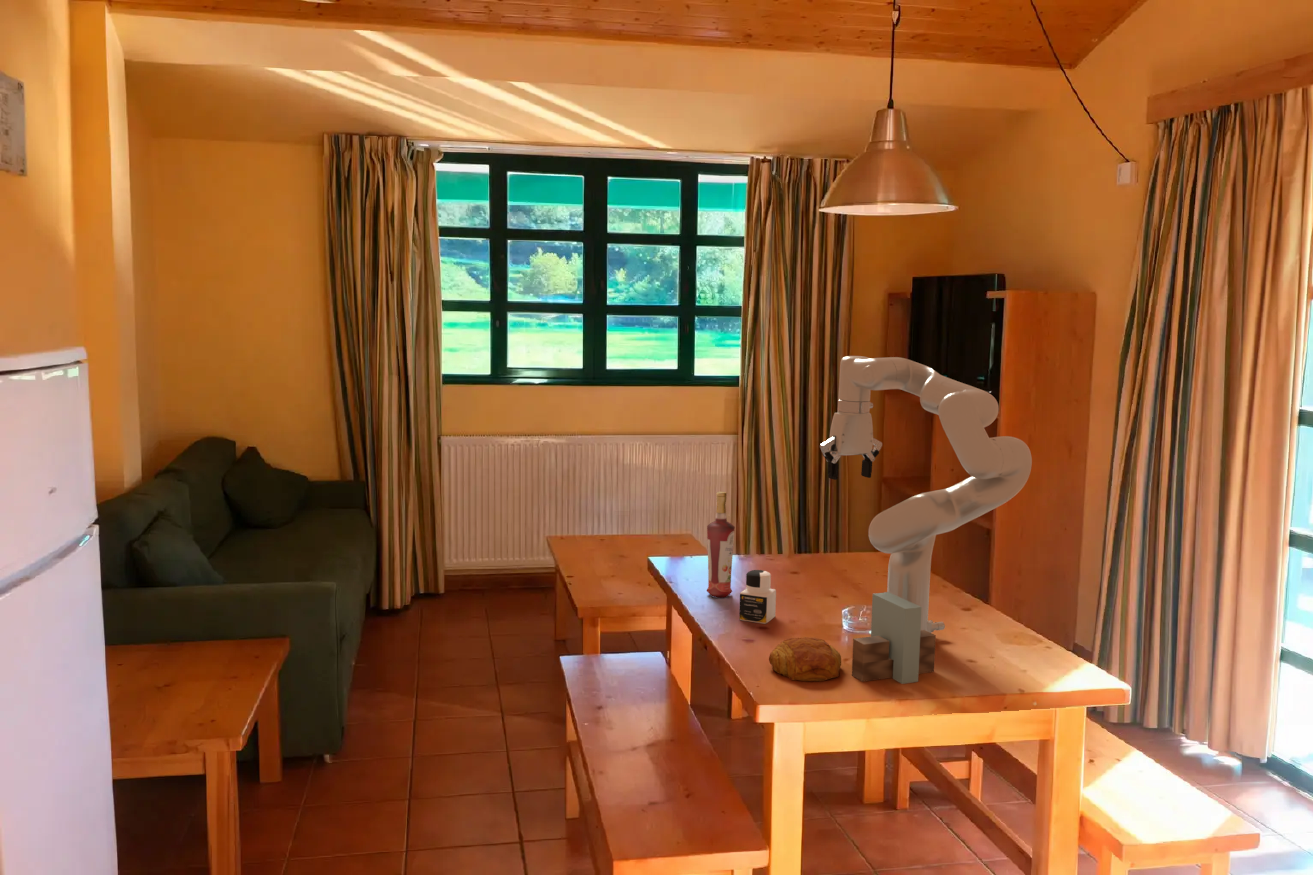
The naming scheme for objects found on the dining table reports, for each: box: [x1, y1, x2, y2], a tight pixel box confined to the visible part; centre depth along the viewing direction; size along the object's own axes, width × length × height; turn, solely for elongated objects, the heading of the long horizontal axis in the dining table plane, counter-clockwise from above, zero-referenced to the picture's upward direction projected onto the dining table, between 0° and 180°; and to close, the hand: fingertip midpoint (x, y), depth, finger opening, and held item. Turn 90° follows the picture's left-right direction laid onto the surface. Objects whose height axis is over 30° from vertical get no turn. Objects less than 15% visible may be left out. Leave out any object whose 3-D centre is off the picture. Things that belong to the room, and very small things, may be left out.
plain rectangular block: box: [870, 591, 922, 685], centre depth 224 cm, size 12×4×16 cm, turn 22°
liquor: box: [706, 491, 735, 599], centre depth 281 cm, size 7×7×28 cm
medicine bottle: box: [738, 569, 777, 625], centre depth 262 cm, size 7×7×12 cm
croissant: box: [768, 636, 842, 682], centre depth 225 cm, size 14×16×8 cm
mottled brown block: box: [851, 630, 937, 683], centre depth 224 cm, size 18×4×8 cm, turn 112°
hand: (849, 477), depth 256 cm, fingers open, 9 cm apart
